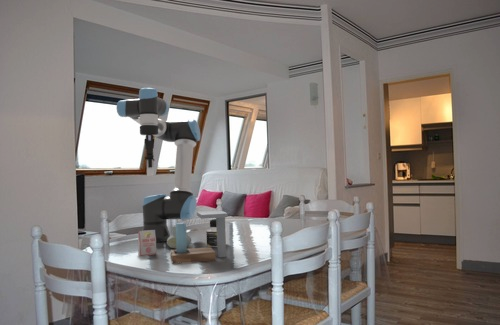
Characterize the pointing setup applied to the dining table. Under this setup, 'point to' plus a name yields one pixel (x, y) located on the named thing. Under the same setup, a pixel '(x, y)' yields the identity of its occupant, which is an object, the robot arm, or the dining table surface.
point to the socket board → (193, 255)
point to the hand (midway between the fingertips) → (150, 176)
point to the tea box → (146, 243)
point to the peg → (181, 238)
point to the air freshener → (172, 239)
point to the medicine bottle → (213, 234)
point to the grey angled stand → (220, 228)
